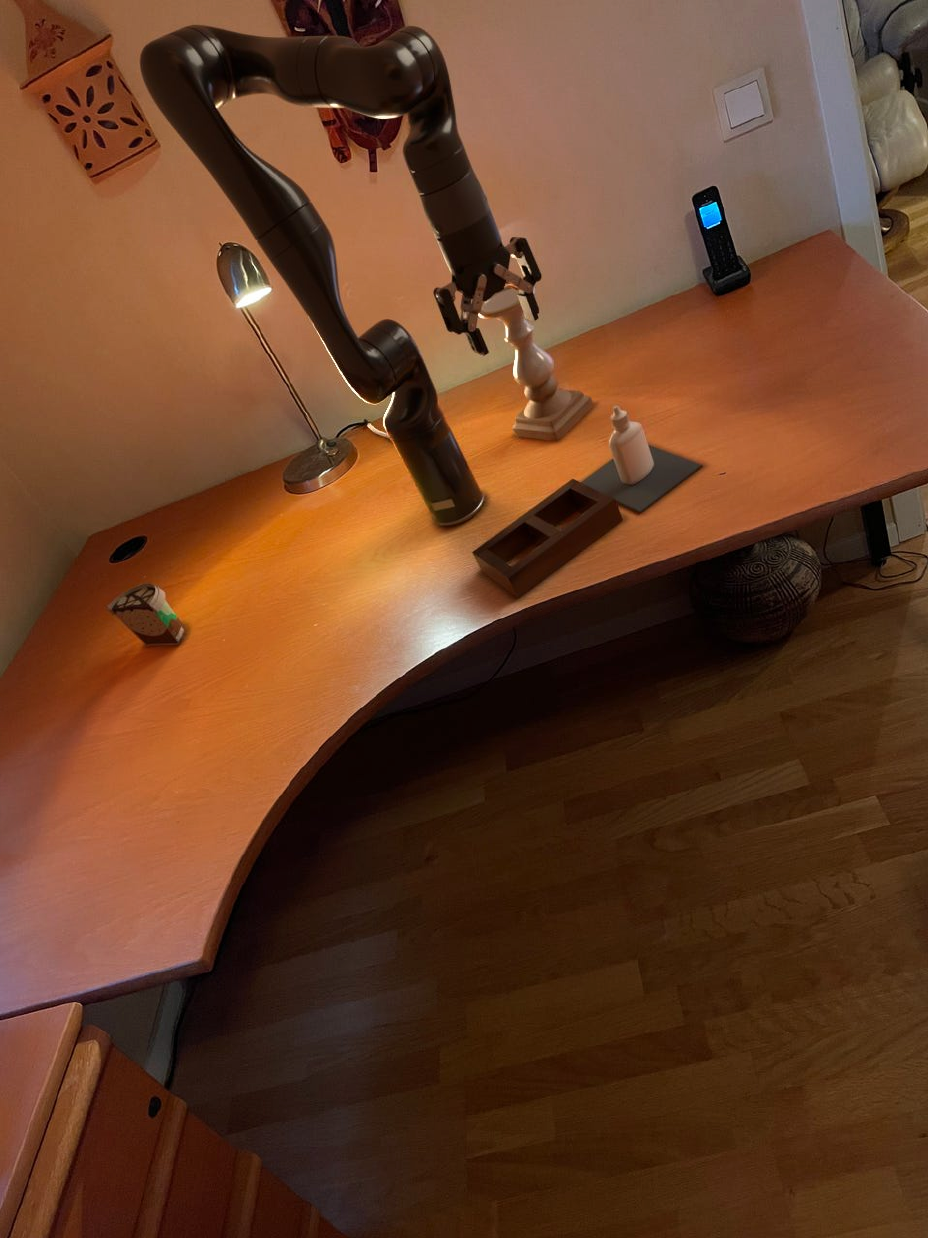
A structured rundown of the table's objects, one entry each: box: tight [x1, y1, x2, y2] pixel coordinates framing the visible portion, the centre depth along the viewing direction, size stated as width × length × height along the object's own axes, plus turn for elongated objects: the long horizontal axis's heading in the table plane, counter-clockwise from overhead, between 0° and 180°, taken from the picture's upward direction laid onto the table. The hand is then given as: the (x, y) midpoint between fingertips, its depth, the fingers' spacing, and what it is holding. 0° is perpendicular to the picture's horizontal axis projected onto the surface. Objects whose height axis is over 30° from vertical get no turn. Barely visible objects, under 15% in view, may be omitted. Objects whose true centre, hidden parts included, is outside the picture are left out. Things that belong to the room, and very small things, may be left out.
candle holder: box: [478, 285, 595, 442], centre depth 143 cm, size 11×11×24 cm
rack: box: [471, 478, 624, 600], centre depth 121 cm, size 11×19×4 cm, turn 118°
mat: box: [580, 444, 703, 514], centre depth 126 cm, size 15×12×1 cm
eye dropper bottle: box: [608, 405, 654, 485], centre depth 122 cm, size 4×6×12 cm
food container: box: [107, 582, 187, 646], centre depth 148 cm, size 12×6×10 cm, turn 65°
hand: (508, 336), depth 112 cm, fingers open, 8 cm apart
